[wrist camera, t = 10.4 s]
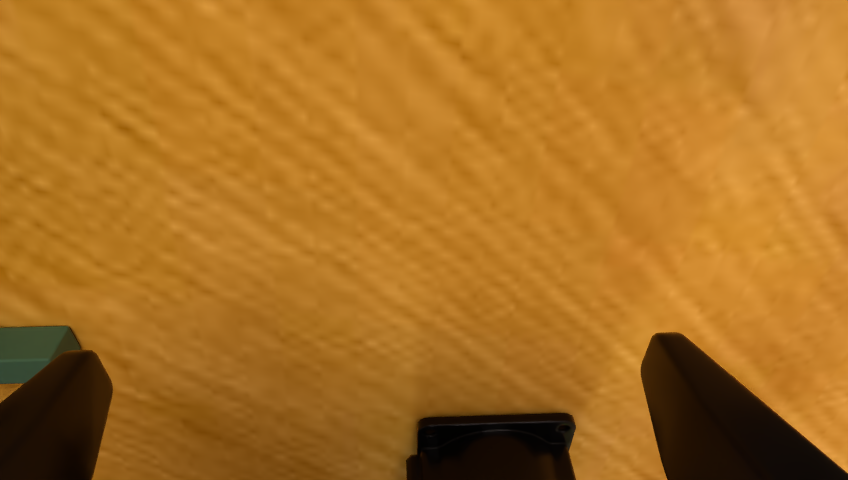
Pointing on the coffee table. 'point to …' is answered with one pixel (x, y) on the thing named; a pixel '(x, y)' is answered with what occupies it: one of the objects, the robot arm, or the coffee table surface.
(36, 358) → the bay
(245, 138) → the coffee table surface
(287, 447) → the coffee table surface
